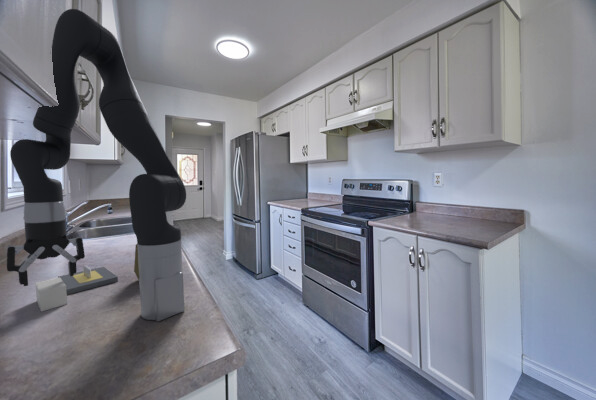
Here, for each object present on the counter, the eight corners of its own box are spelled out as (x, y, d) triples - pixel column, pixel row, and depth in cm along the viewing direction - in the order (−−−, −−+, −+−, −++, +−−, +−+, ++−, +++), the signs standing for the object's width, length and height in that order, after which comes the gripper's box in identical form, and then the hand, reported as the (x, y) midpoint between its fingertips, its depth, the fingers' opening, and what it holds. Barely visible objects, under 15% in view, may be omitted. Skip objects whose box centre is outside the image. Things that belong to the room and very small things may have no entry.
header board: (118, 281, 80) (117, 267, 79) (67, 294, 70) (66, 279, 70) (103, 270, 90) (103, 258, 89) (58, 281, 80) (56, 267, 80)
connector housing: (67, 304, 65) (66, 285, 64) (41, 311, 61) (39, 291, 61) (61, 294, 70) (59, 277, 70) (36, 300, 67) (35, 282, 66)
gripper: (3, 224, 57) (9, 293, 58) (84, 217, 68) (87, 275, 69) (2, 221, 61) (8, 284, 63) (78, 215, 72) (81, 269, 74)
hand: (49, 280), depth 66 cm, fingers open, 8 cm apart
